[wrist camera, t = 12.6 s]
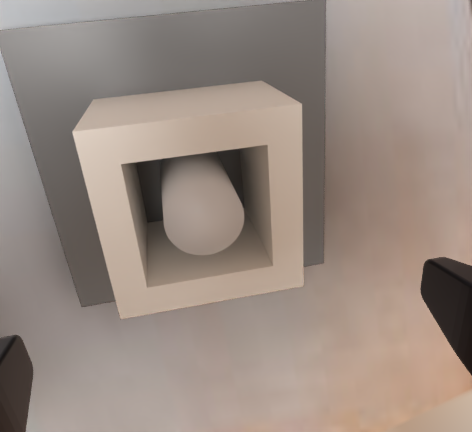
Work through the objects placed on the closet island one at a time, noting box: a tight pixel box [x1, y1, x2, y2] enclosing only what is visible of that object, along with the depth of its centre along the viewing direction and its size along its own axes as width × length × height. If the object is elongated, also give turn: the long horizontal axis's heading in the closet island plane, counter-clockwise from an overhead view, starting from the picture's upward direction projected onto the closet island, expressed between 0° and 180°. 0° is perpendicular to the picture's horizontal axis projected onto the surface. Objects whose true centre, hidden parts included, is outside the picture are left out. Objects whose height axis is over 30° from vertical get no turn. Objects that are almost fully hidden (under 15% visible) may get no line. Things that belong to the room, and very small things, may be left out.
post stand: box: [0, 0, 326, 307], centre depth 16 cm, size 12×12×6 cm
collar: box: [72, 81, 304, 319], centre depth 16 cm, size 7×7×5 cm
